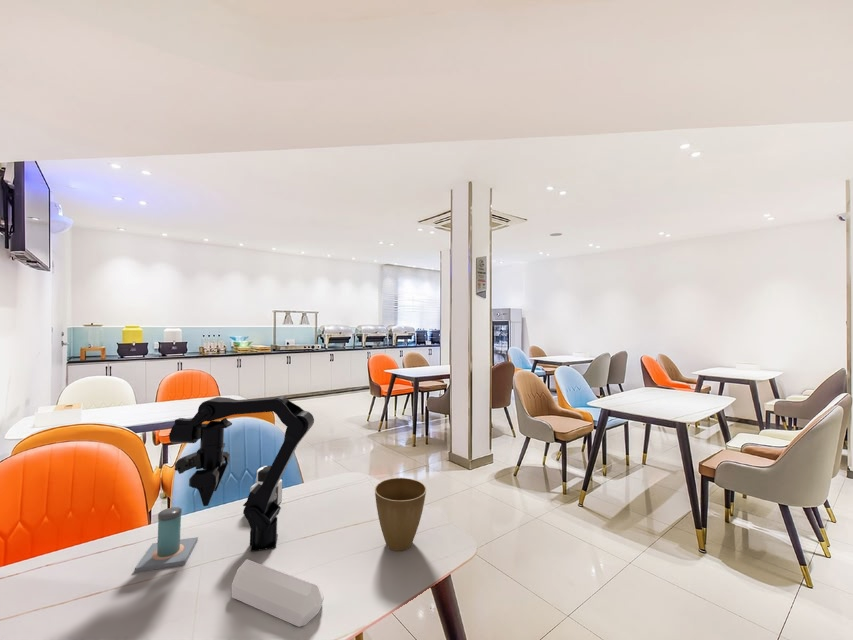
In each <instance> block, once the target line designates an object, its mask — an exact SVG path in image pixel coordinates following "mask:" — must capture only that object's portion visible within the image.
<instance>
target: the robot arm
mask: <svg viewBox="0 0 853 640" xmlns="http://www.w3.org/2000/svg"><path fill="white" fill-rule="evenodd" d="M259 413H260V414H261V413H262V414H263V413H274V414H276V416H277V417H278V419H279V420H280V422H281V423H282V424H283V425H284V426H285V427H286V430H285V432H284V439H283V443H282V444H281V447H280V449H279V450H278V452H277V454H276V456H275V458H274V459H273V462H272V463H271V465H270V466H271V468H270V470H269V472H268V474H267V475H266V477H265V479H264V481H263V483H262V485H260V484H258V485H257V486H256V487H255V488H254V489H253V490H252V491H251V492H250V491H249V494H248V495H247V500H246V501H245V502H244V504H242V506H243V507H244V508H243V510H242V511H243V513H242V514H243V516H244V517H245V518H246V520H247V521H248V525H249V527H250V531H249V546H250V551H251V552H257V551H262V550H264V551H265V550H269V549H275V548H277V544H278V543H277V542H278V536H279V535H278V517H277V516H278V515H280V511H281V509H282V508H281V505H279V504H277V503H276V502H275V501H274V497H275V493H276V487H277V485H278V483H279V481H280V479H281V478H282V477H283V474H284V472H285V470H286V469H287V468H288V467H287V466H288V465H289V464H290V461H291V459H292V457H293V455H294V453H295V450H296V449H297V447H298V445H299V444H300V442H301V441H302V440H303V438H304V437H305V436H306V435H307V433H308V432H309V431H310V429H311V428H312V427H313V425H314V422H315V418H314V415H313V414H312V413H311V412H310V411H308V410H307V411H306V410H304V409H303V408H301V407H300V406H299V405H297V404H296V403H294V402H292V401H291V400H289V399H288V398H287V397H286V396H284V395H279V396H275V397H274V396H273V397H260V398H259V397H258V398H247V399H246V398H245V399H234V398H230V397H222V396H218V397H214V398H210V399H208V400H205V401H202V402H201V403H200V404H199V406H198V409H197V412H196V413H195V415H194V416H193V417H192V418H184V417H178V418H177V419H174V424H173V425H172V427H171V428H170V432H169V434H168V437H169V442H171V444H196V443H197V442H198V441H199V440H200V444H199V448H198V450H196V451H195V452H192V453H190V454H188V455H185V456H182V457H181V458H178V459H177V460H176V461H175V463H174V471H177V472H178V475H182V474H184V473H185V472H187V471H189V470H192V469H194V468H195V470H196V471H195V472H194V473H193V474H192V475H191V476H190V478H189V481H188V487H190V488H193V489H196V490H198V493H199V496H200V498H201V503H202V505H203V507H209V504H210V502H211V500H212V497H213V494H214V492H217V490H218V487H219V486H220V483H221V481H222V478H223V477H224V475H225V473H226V469H227V467H228V465H229V462H230V457H231V456H230V453H229V452H228V451H224V448H225V447H226V443H225V441H224V440H225V437H224V436H225V429H227V428H229V427H231V426H232V425H233V423H232V422H231V421H230V420H228V419H227V417H230V416H235V415H247V414H259ZM205 422H208V423H205Z"/></svg>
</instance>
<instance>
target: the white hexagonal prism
mask: <svg viewBox="0 0 853 640" xmlns="http://www.w3.org/2000/svg"><path fill="white" fill-rule="evenodd" d="M231 597H232V599H235V600H237V601H240V602H242V603H244V604H246V605H249V606H251V607H252V608H256V609H258V610H260V611H262V612H264V613H266V614H268V615H271V616H273V617H276V618H278V619H280V620H282V621H285V622H287V623H289V624H291V625H294V626H296V627H298V628H299V627H302V626H306V625H308V623H309V622H311V620H312V619H314V618H315V616H317V614H319V612H320V610H321V608H322V606H323V602H324V594H323V592H322V590H321V589H320V587H319V585H317V584H315V583H312V582H309V581H306V580H303V579H301V578H298V577H295V576H293V575H290V574H288V573H285V572H282V571H280V570H276V569H275V568H271V567H270V566H269V567H268V566H266V565H264V564H261V563H259V562H257V561H256V562H255V561H253V560H250V559H245V561H244V562H243V563H242V564H241V565H239V568H238V569H237V571H236V572H235V574H234V577H233V581H232V583H231Z"/></svg>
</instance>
